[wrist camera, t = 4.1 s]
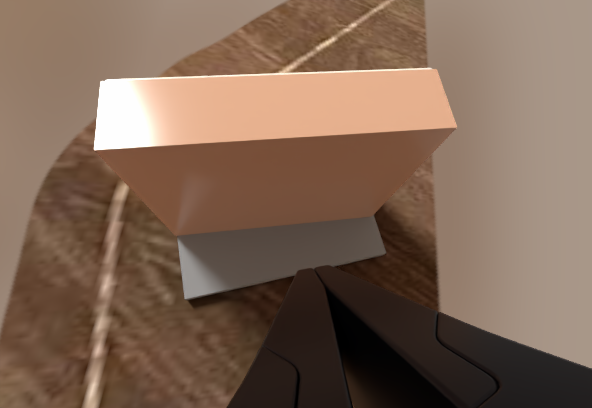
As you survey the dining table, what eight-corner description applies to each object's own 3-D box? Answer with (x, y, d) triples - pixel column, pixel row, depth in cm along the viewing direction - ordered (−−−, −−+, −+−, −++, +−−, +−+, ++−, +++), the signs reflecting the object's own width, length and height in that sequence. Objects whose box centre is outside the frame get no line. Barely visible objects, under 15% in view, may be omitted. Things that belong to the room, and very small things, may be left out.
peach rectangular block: (371, 216, 19) (457, 127, 11) (175, 235, 17) (93, 149, 9) (362, 177, 20) (435, 65, 11) (175, 192, 18) (101, 77, 10)
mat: (382, 255, 19) (386, 253, 18) (187, 300, 17) (184, 299, 16) (339, 124, 22) (341, 119, 21) (169, 150, 20) (166, 145, 19)
